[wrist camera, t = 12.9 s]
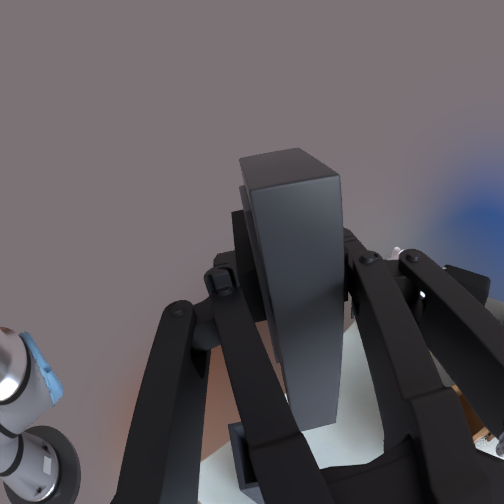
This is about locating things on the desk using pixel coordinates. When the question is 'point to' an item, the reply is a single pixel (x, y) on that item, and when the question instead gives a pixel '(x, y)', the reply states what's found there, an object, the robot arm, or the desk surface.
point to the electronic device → (471, 282)
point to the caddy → (244, 463)
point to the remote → (299, 273)
